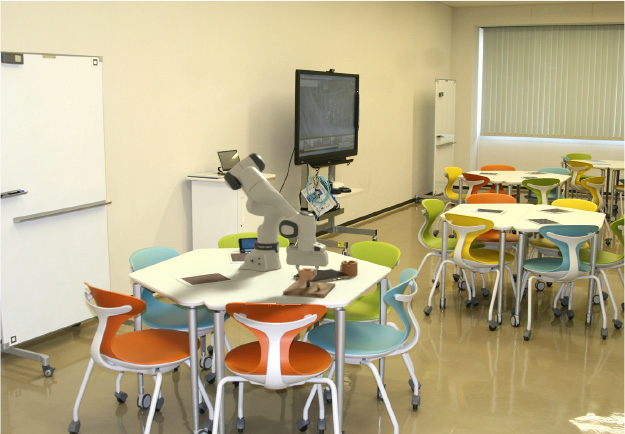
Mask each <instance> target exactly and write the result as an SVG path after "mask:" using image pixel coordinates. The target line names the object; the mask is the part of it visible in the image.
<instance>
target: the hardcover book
mask: <svg viewBox="0 0 625 434" xmlns="http://www.w3.org/2000/svg"><path fill="white" fill-rule="evenodd" d="M299 278H300V277H299V274H294V275H293V279H295V280H296V281H299ZM338 278H345V279H348V278H349V277H348V274H345V273H342V272H340V271H339V270H336V269H333V268H330V269H322V270H317V275H315V277H314V278H313V279H312V280H310V282H321V283H328V282H331V281H330V280H333V279H338ZM327 281H328V282H327Z"/></svg>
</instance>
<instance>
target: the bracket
mask: <svg viewBox="0 0 625 434" xmlns="http://www.w3.org/2000/svg"><path fill="white" fill-rule="evenodd" d="M339 270H340V271H341V272H342V273H345V274H348V276H350V278H353V277H352V276H354V277H357V276H358V275H359V273H358V272H359V271H358V261H357V260H348V261H347V260H342V261H341V264H340V266H339ZM340 271H339V272H340Z"/></svg>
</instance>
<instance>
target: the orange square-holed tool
mask: <svg viewBox="0 0 625 434" xmlns="http://www.w3.org/2000/svg"><path fill="white" fill-rule="evenodd" d="M315 270H316V268H308V267H303V268H300V271H299V274H298V275H299V277H300V278H299V280H298V281H299V283H302V284H304V283H305V282H306V281H307V280H312V279H313V278H314V277H315V275H313V271H315Z"/></svg>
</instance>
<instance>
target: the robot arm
mask: <svg viewBox="0 0 625 434" xmlns="http://www.w3.org/2000/svg"><path fill="white" fill-rule="evenodd" d="M265 169H266V163H265V160H264V159H263V157H262V156H261V155H259V154H258V153H255V152H253V153H250V154H248V156H246V157H245V158H243V159H241V160H239V161H238V163H236V164H235V165H234V166H233V167H231V169H230V170H227V171H226V172H225V174H224V175H223V179H224V183H225V185H226V186H227V187H228V188H229V189H231V190H232V191H239V190H242V191H243V193H244V194H245V196H246V197H247V199H246V202H245V208H246V211H247V212H248V213H249V214H252V215H253V216H257V217H263V222H262V223H261V224H260V225H258V226H257V231H256V233H257V239H258V241H257V242H256V243H254V244H253V245H254V247H255V249H254V250H252V251H251V252H250V253H246V255H245V257H244V261H243V263H242V264H241V265H240V266H239V269H241V270H249V271H255V272H256V271H258V272H267V271H273V270H274V271H275V270H278V269H281V268H282V267H283V266H282V264H281V259H280V253H279V252H280V242H279V235H280V236H281V237H282V238H284V239H289V240H290V239H294V238H296V239H297V245H288V246H287V247H285V248H286V249H285V251H286V258H285V259H286V260H285V262H286V264H287V265H289V266H295V269H296V271H297V275H299V271H300V270H301V268H300V266H303V267H305V266H306V267H314V269H315V271H313V275H317V271H319V269H320V267H322V268H325V267H327V266H328V265H329V254H328V251H327V250H326V249H327V246H326V244H324V243H321V242H318V241H317V238H316V233H317V222H316V217H315V214H313V212H309V211H298V210H297V209H296V208H295V207H294V205H292V204H291V203H290V202H289V201H288V200H287V198H285V196H284V195H282V194H281V192H279V191H278V190H277V189H276V188H275V187H274V186H273V185H272V184H271V183H270V182H269V181H268V180H267V178H266V177H265V176H264V175H263V173H262V172H263V171H264V170H265ZM282 218H284V219H283V220H282Z"/></svg>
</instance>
